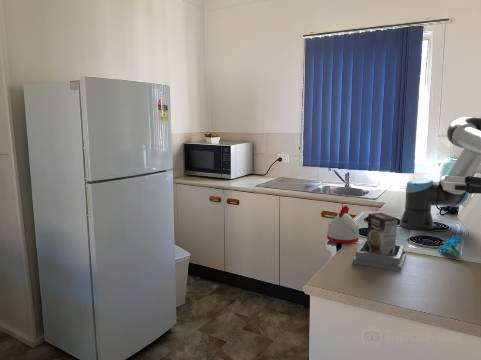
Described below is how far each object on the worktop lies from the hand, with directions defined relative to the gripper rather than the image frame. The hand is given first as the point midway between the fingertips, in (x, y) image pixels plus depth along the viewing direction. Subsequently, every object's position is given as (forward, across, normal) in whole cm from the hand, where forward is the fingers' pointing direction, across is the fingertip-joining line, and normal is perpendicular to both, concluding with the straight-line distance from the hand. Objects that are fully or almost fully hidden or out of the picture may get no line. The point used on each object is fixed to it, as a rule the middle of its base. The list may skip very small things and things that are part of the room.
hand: (443, 182), depth 136 cm
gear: (-4, +19, -32) cm, 38 cm away
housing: (+20, 0, -32) cm, 38 cm away
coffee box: (+20, 0, -31) cm, 36 cm away
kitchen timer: (+39, +19, -32) cm, 54 cm away
